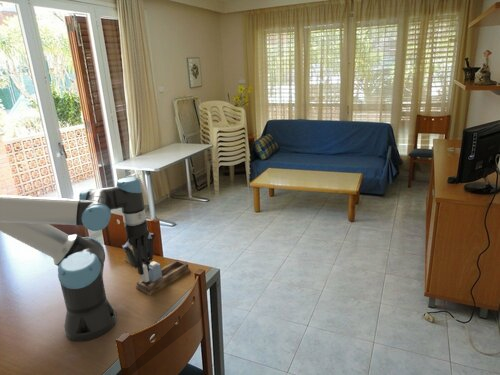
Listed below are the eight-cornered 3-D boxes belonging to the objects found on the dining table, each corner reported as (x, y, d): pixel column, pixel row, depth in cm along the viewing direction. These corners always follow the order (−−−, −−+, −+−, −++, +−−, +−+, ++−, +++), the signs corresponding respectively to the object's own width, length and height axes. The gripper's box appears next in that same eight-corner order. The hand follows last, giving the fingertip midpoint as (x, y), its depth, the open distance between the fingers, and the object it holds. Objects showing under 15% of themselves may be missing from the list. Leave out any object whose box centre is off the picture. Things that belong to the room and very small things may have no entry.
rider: (154, 285, 135) (151, 266, 133) (148, 282, 137) (145, 264, 135) (162, 280, 138) (160, 262, 136) (156, 277, 140) (154, 259, 138)
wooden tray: (150, 295, 131) (149, 288, 130) (136, 288, 136) (135, 281, 135) (190, 270, 146) (189, 264, 145) (176, 265, 151) (175, 258, 150)
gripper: (125, 230, 119) (136, 292, 126) (157, 217, 128) (165, 275, 136) (112, 226, 123) (124, 285, 131) (144, 213, 133) (153, 269, 140)
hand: (145, 280), depth 133 cm, fingers closed
